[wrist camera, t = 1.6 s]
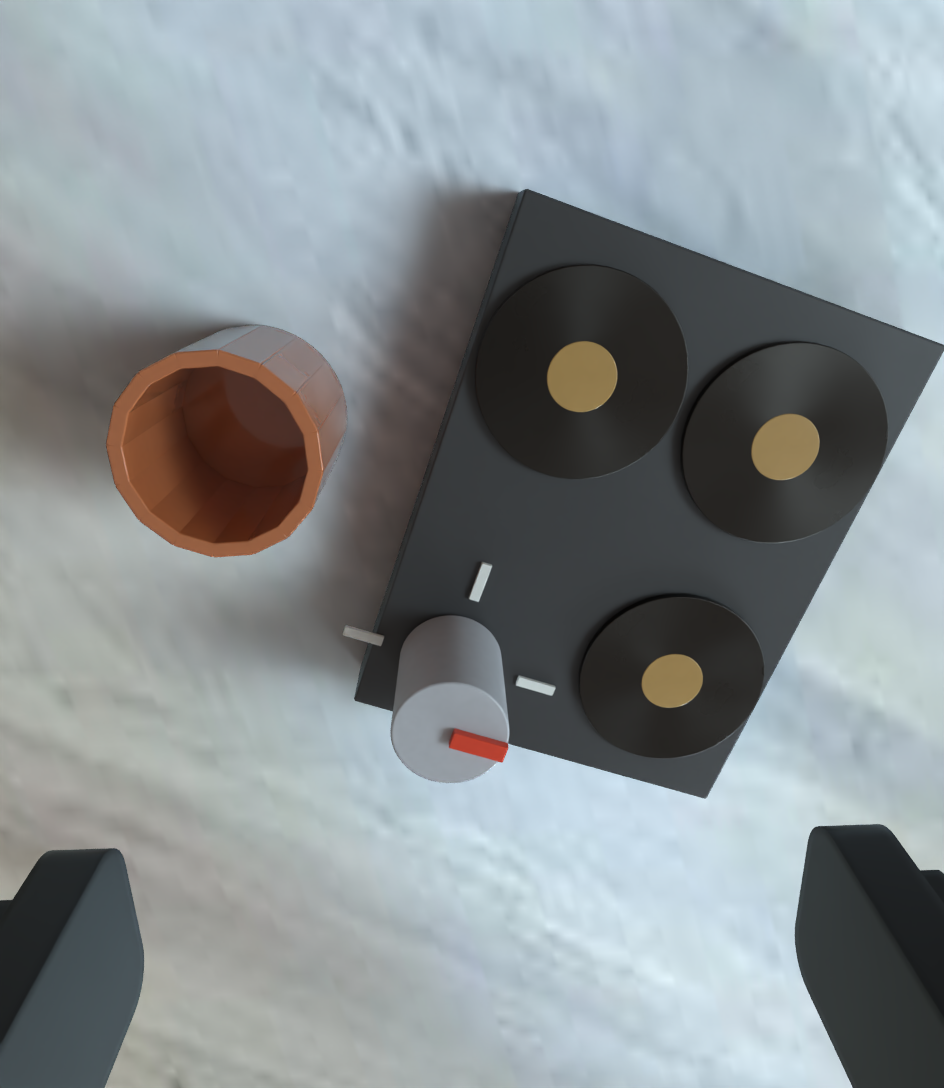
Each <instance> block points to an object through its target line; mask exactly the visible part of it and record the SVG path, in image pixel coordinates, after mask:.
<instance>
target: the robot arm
mask: <svg viewBox="0 0 944 1088" xmlns="http://www.w3.org/2000/svg"><path fill="white" fill-rule="evenodd" d="M795 945H796V953H797V959H798V963H799V967H800V971H801V975H802V977H803V980H804V983H805V985H806V988H807V990H808V992H809V994H810V997H811V999H812V1001H813V1003H814V1005H815V1007H816V1009H817V1012H818V1014H819V1016H820V1018H821V1020H822V1022H823V1024H824V1027H825V1029H826V1031H827V1033H828V1035H829V1037H830V1040H831V1042H832V1044H833V1046H834V1048H835V1050H836V1052H837V1055H838V1057H839V1059H840V1061H841V1063H842V1065H843V1067H844V1070H845V1072H846V1074H847V1076H848V1078H849V1080H850V1082H851V1085H852V1087H853V1088H944V873H942V872H941V871H940V870H922V871H920V870H919V869H918V867H917V866H916V864H915V863H914V862H913V860H912V859H911V858H910V856H909V855H908V853H907V852H906V851H905V849H904V848H903V846H902V845H901V844H900V842H899V841H898V840H897V838H896V837H895V835H894V834H893V833H892V832H891V831H890V830H889V829H888V828H887V827H885V826H883V825H880V824H872V825H843V826H818V827H815V828H814V829H813V830H812V831H811V833H810V836H809V839H808V845H807V851H806V858H805V864H804V871H803V877H802V884H801V890H800V897H799V904H798V910H797V917H796V923H795ZM143 973H144V950H143V944H142V939H141V934H140V930H139V925H138V920H137V916H136V911H135V906H134V902H133V897H132V892H131V888H130V883H129V878H128V874H127V869H126V864H125V861H124V858H123V855H122V854H121V852H120V851H119V850H118V849H115V848H109V849H80V850H52V851H48V852H46V853H45V854H43V855H42V856H41V857H40V859H39V860H38V861H37V863H36V864H35V866H34V867H33V869H32V870H31V872H30V874H29V875H28V877H27V878H26V880H25V881H24V883H23V884H22V886H21V888H20V889H19V891H18V892H17V894H16V895H15V897H14V898H13V900H1V901H0V1088H105V1085H106V1083H107V1080H108V1078H109V1075H110V1073H111V1070H112V1068H113V1065H114V1063H115V1060H116V1058H117V1055H118V1052H119V1050H120V1047H121V1045H122V1042H123V1040H124V1037H125V1035H126V1032H127V1030H128V1027H129V1025H130V1022H131V1020H132V1017H133V1015H134V1012H135V1010H136V1007H137V1004H138V1000H139V997H140V992H141V988H142V982H143Z"/></svg>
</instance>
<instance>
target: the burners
mask: <svg viewBox="0 0 944 1088" xmlns="http://www.w3.org/2000/svg"><path fill="white" fill-rule="evenodd" d="M688 370H689V368H688V352H687V347H686V341H685V338H684V335H683V332H682V328H681V326H680V324H679V322H678V320H677V318H676V316H675V314H674V313H673V311H672V310H671V308H670V307H669V305H668V304H667V302H666V301H665V300H664V299H663V298H662V297H661V296H660V295H659V293H657V292H656V291H655V290H654V289H653V288H652V287H650V286H649V285H648V284H647V283H645V282H643V281H642V280H640V279H639V278H637V277H635V276H633V275H631V274H629V273H627V272H624V271H622V270H618V269H615V268H611V267H608V266H601V265H594V264H579V265H571V266H564V267H561V268H557V269H554V270H550V271H548V272H546V273H543V274H541V275H539V276H536V277H535V278H533V279H531V280H530V281H528V282H526V283H525V284H523V285H522V286H521V287H520V288H518V289H517V290H516V291H514V292H513V293H512V294H511V295H510V296H509V297H508V298H507V299H506V300H505V301H504V302H503V303H502V305H501V306H500V307H499V309H498V310H497V311H496V313H495V314H494V315H493V317H492V319H491V321H490V322H489V324H488V326H487V328H486V330H485V332H484V335H483V337H482V340H481V343H480V346H479V350H478V354H477V360H476V368H475V384H476V392H477V399H478V403H479V406H480V410H481V413H482V415H483V418H484V420H485V423H486V425H487V426H488V428H489V430H490V432H491V433H492V435H493V436H494V438H495V439H496V440H497V442H498V443H499V444H500V445H501V446H502V447H503V448H504V449H505V450H506V451H507V452H508V453H509V454H510V455H511V456H512V457H513V458H515V459H516V460H517V461H519V462H520V463H522V464H523V465H525V466H527V467H529V468H530V469H532V470H535V471H537V472H540V473H542V474H545V475H549V476H553V477H557V478H564V479H589V478H597V477H601V476H605V475H609V474H612V473H614V472H617V471H619V470H622V469H624V468H626V467H628V466H629V465H631V464H633V463H635V462H636V461H638V460H639V459H641V458H642V457H643V456H645V455H646V454H647V453H648V452H649V451H650V450H652V449H653V448H654V447H655V446H656V445H657V444H658V443H659V441H660V440H661V439H662V438H663V437H664V436H665V434H666V433H667V431H668V430H669V428H670V427H671V426H672V424H673V422H674V420H675V418H676V416H677V414H678V412H679V410H680V408H681V405H682V402H683V399H684V396H685V392H686V387H687V381H688ZM888 430H889V426H888V414H887V410H886V406H885V401H884V399H883V396H882V394H881V391H880V389H879V387H878V386H877V384H876V382H875V381H874V379H873V378H872V376H871V375H870V374H869V373H868V372H867V370H866V369H865V368H864V367H863V366H862V365H860V364H859V363H858V362H857V361H856V360H855V359H853V358H851V357H850V356H848V355H847V354H845V353H843V352H841V351H839V350H837V349H834V348H832V347H829V346H825V345H822V344H818V343H812V342H805V341H788V342H781V343H775V344H771V345H767V346H763V347H760V348H758V349H755V350H753V351H750V352H748V353H746V354H745V355H743V356H741V357H739V358H737V359H736V360H734V361H733V362H731V363H730V364H729V365H727V366H726V367H724V368H723V369H722V370H721V371H720V372H719V373H718V374H717V375H716V376H714V377H713V378H712V380H711V381H710V382H709V383H708V384H707V385H706V386H705V388H704V389H703V390H702V392H701V393H700V395H699V396H698V398H697V399H696V401H695V403H694V405H693V407H692V409H691V411H690V412H689V415H688V418H687V420H686V423H685V426H684V430H683V435H682V439H681V450H680V458H681V469H682V474H683V479H684V482H685V485H686V488H687V490H688V492H689V494H690V496H691V498H692V500H693V501H694V503H695V504H696V506H697V507H698V509H699V510H700V511H701V512H702V513H703V514H704V515H705V516H706V517H707V519H708V520H709V521H711V522H712V523H713V524H714V525H716V526H717V527H718V528H720V529H722V530H723V531H725V532H727V533H728V534H731V535H733V536H735V537H738V538H740V539H744V540H748V541H752V542H760V543H783V542H791V541H795V540H799V539H803V538H806V537H809V536H811V535H814V534H817V533H819V532H821V531H823V530H825V529H827V528H828V527H830V526H832V525H833V524H835V523H836V522H838V521H839V520H841V519H842V518H843V517H844V516H845V515H847V514H848V513H849V512H850V511H851V510H852V509H853V508H854V507H855V506H856V505H857V504H858V503H859V502H860V501H861V500H862V498H863V497H864V496H865V495H866V493H867V492H868V491H869V489H870V488H871V486H872V484H873V483H874V481H875V479H876V477H877V475H878V473H879V471H880V469H881V466H882V463H883V460H884V457H885V454H886V449H887V443H888ZM763 682H764V658H763V653H762V650H761V646H760V643H759V641H758V639H757V638H756V636H755V634H754V632H753V631H752V630H751V628H750V627H749V625H748V624H747V623H746V622H745V621H744V619H743V618H742V617H741V616H740V615H739V614H737V613H736V612H735V611H733V610H732V609H731V608H729V607H727V606H726V605H724V604H722V603H720V602H718V601H715V600H713V599H710V598H707V597H703V596H699V595H692V594H666V595H659V596H655V597H651V598H647V599H644V600H642V601H639V602H636V603H634V604H632V605H630V606H628V607H626V608H624V609H623V610H622V611H620V612H619V613H617V614H616V615H614V616H613V617H612V618H611V619H609V620H608V621H607V622H606V623H605V624H604V625H603V626H602V627H601V628H600V629H599V630H598V632H597V633H596V634H595V636H594V637H593V639H592V640H591V641H590V643H589V645H588V647H587V649H586V651H585V653H584V656H583V659H582V662H581V666H580V671H579V694H580V698H581V702H582V706H583V709H584V711H585V713H586V716H587V718H588V719H589V721H590V722H591V724H592V726H593V727H594V728H595V729H596V730H597V732H598V733H599V734H600V735H601V736H602V737H604V738H605V739H606V740H607V741H608V742H610V743H611V744H613V745H614V746H616V747H618V748H620V749H622V750H624V751H626V752H629V753H631V754H634V755H638V756H642V757H647V758H656V759H671V758H680V757H685V756H689V755H693V754H696V753H699V752H702V751H705V750H707V749H709V748H711V747H713V746H715V745H717V744H719V743H720V742H722V741H723V740H725V739H726V738H728V737H729V736H730V735H731V734H733V733H734V732H735V731H736V730H737V729H738V728H739V727H740V726H741V725H742V724H743V723H744V722H745V720H746V719H747V718H748V717H749V715H750V714H751V712H752V711H753V709H754V707H755V706H756V703H757V701H758V699H759V697H760V694H761V690H762V687H763Z"/></svg>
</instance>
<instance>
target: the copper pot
mask: <svg viewBox="0 0 944 1088" xmlns="http://www.w3.org/2000/svg"><path fill="white" fill-rule="evenodd" d="M346 428H347V406H346V401H345V396H344V393H343V390H342V387H341V384H340V382H339V380H338V378H337V376H336V374H335V372H334V371H333V369H332V367H331V366H330V364H329V363H328V362H327V361H326V360H325V358H324V357H323V356H322V355H321V354H320V353H319V352H318V351H317V350H316V349H315V348H314V347H312V346H311V345H310V344H308V343H307V342H306V341H304V340H303V339H301V338H299V337H297V336H296V335H294V334H291V333H289V332H286V331H284V330H281V329H277V328H274V327H269V326H261V325H245V326H238V327H233V328H227V329H223V330H221V331H219V332H217V333H215V334H213V335H210V336H208V337H206V338H204V339H202V340H200V341H198V342H195V343H193V344H191V345H189V346H187V347H185V348H182V349H180V350H178V351H176V352H174V353H172V354H170V355H168V356H166V357H164V358H162V359H161V360H159V361H157V362H155V363H153V364H151V365H149V366H147V367H146V368H144V369H142V370H140V371H139V372H138V373H136V374H135V376H134V377H133V379H132V380H131V381H130V383H129V384H128V385H127V387H126V388H125V389H124V391H123V392H122V393H121V395H120V396H119V398H118V399H117V400H116V402H115V403H114V406H113V409H112V414H111V420H110V425H109V430H108V435H107V440H106V444H107V445H106V448H107V453H108V457H109V461H110V466H111V470H112V475H113V479H114V484H115V485H116V488H117V489H118V491H119V492H120V494H121V495H122V497H123V498H124V500H125V501H126V503H127V504H128V506H129V507H130V508H131V510H132V511H133V513H134V514H135V516H136V517H137V519H138V520H140V522H141V523H143V524H144V525H146V526H147V527H148V528H150V529H151V530H152V531H154V532H155V533H157V534H158V535H159V536H161V537H162V538H163V539H165V540H166V541H168V542H169V543H170V544H172V545H174V546H177V547H180V548H183V549H187V550H190V551H193V552H197V553H200V554H204V555H207V556H210V557H225V556H240V555H252V554H256V553H258V552H260V551H262V550H264V549H266V548H268V547H270V546H272V545H274V544H276V543H278V542H281V541H283V540H285V539H287V538H288V537H289V536H290V535H291V534H292V533H293V532H294V531H295V529H296V528H297V527H298V526H299V525H300V524H301V522H302V521H303V520H304V519H305V518H306V516H307V515H308V514H309V513H310V512H311V511H312V509H313V507H314V505H315V503H316V501H317V499H318V497H319V495H320V493H321V491H322V489H323V487H324V485H325V483H326V481H327V479H328V477H329V475H330V473H331V471H332V469H333V467H334V465H335V463H336V461H337V459H338V456H339V453H340V449H341V447H342V444H343V441H344V438H345V433H346Z"/></svg>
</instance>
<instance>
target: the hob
mask: <svg viewBox="0 0 944 1088" xmlns="http://www.w3.org/2000/svg"><path fill="white" fill-rule="evenodd" d="M579 264H594V265H601V266H608V267H611V268H615V269H618V270H622V271H624V272H627V273H629V274H631V275H633V276H635V277H637V278H639V279H640V280H642V281H643V282H645V283H647V284H648V285H649V286H650V287H652V288H653V289H654V290H655V291H656V292H657V293H659V295H660V296H661V297H662V298H663V299H664V300H665V301H666V302H667V304H668V305H669V307H670V308H671V310H672V311H673V313H674V314H675V316H676V318H677V320H678V322H679V324H680V326H681V328H682V332H683V335H684V338H685V341H686V347H687V352H688V368H689V370H688V381H687V387H686V392H685V396H684V399H683V402H682V405H681V408H680V410H679V412H678V414H677V416H676V418H675V420H674V422H673V424H672V426H671V427H670V428H669V430H668V431H667V433H666V434H665V436H664V437H663V438H662V439H661V440H660V441H659V443H658V444H657V445H656V446H655V447H654V448H653V449H652V450H650V451H649V452H648V453H647V454H646V455H645V456H643V457H642V458H641V459H639V460H638V461H636V462H635V463H633V464H631V465H629V466H628V467H626V468H624V469H622V470H619V471H617V472H614V473H612V474H609V475H605V476H601V477H597V478H589V479H564V478H557V477H553V476H549V475H545V474H542V473H540V472H537V471H535V470H532V469H530V468H529V467H527V466H525V465H523V464H522V463H520V462H519V461H517V460H516V459H515V458H513V457H512V456H511V455H510V454H509V453H508V452H507V451H506V450H505V449H504V448H503V447H502V446H501V445H500V444H499V443H498V442H497V440H496V439H495V438H494V436H493V435H492V433H491V432H490V430H489V428H488V426H487V425H486V423H485V420H484V418H483V415H482V413H481V410H480V406H479V403H478V399H477V392H476V384H475V368H476V360H477V354H478V350H479V346H480V343H481V340H482V337H483V335H484V332H485V330H486V328H487V326H488V324H489V322H490V321H491V319H492V317H493V315H494V314H495V313H496V311H497V310H498V309H499V307H500V306H501V305H502V303H503V302H504V301H505V300H506V299H507V298H508V297H509V296H510V295H511V294H512V293H513V292H514V291H516V290H517V289H518V288H520V287H521V286H522V285H523V284H525V283H526V282H528V281H530V280H531V279H533V278H535V277H536V276H539V275H541V274H543V273H546V272H548V271H550V270H554V269H557V268H561V267H564V266H571V265H579ZM788 341H805V342H812V343H818V344H822V345H825V346H829V347H832V348H834V349H837V350H839V351H841V352H843V353H845V354H847V355H848V356H850V357H851V358H853V359H855V360H856V361H857V362H858V363H859V364H860V365H862V366H863V367H864V368H865V369H866V370H867V372H868V373H869V374H870V375H871V376H872V378H873V379H874V381H875V382H876V384H877V386H878V387H879V389H880V391H881V394H882V396H883V399H884V401H885V406H886V410H887V414H888V426H889V430H888V443H887V449H886V454H885V457H884V460H883V463H882V466H883V464H884V462H885V461H886V459H887V457H888V455H889V453H890V451H891V449H892V447H893V445H894V444H895V442H896V440H897V438H898V436H899V434H900V432H901V430H902V429H903V427H904V425H905V423H906V421H907V419H908V417H909V415H910V413H911V412H912V410H913V408H914V406H915V404H916V402H917V400H918V398H919V396H920V395H921V393H922V391H923V389H924V387H925V385H926V383H927V381H928V379H929V378H930V376H931V374H932V372H933V370H934V368H935V366H936V364H937V363H938V361H939V359H940V357H941V355H942V353H943V351H944V345H943V344H940V343H937V342H935V341H932V340H929V339H927V338H924V337H921V336H919V335H916V334H913V333H911V332H908V331H905V330H903V329H900V328H897V327H895V326H892V325H889V324H887V323H884V322H881V321H879V320H876V319H873V318H871V317H868V316H865V315H863V314H860V313H857V312H854V311H852V310H849V309H846V308H844V307H841V306H838V305H836V304H833V303H830V302H828V301H825V300H822V299H820V298H817V297H814V296H812V295H809V294H806V293H804V292H801V291H798V290H796V289H793V288H790V287H788V286H785V285H782V284H780V283H777V282H774V281H772V280H769V279H766V278H764V277H761V276H758V275H756V274H753V273H750V272H748V271H745V270H742V269H740V268H737V267H734V266H732V265H729V264H726V263H724V262H721V261H718V260H716V259H713V258H710V257H708V256H705V255H702V254H700V253H697V252H694V251H692V250H689V249H686V248H684V247H681V246H678V245H676V244H673V243H670V242H668V241H665V240H662V239H660V238H657V237H654V236H652V235H649V234H646V233H644V232H641V231H638V230H636V229H633V228H630V227H628V226H625V225H622V224H620V223H617V222H614V221H611V220H609V219H606V218H603V217H601V216H598V215H595V214H593V213H590V212H587V211H585V210H582V209H579V208H577V207H574V206H571V205H569V204H566V203H563V202H561V201H558V200H555V199H553V198H550V197H547V196H545V195H542V194H539V193H537V192H534V191H531V190H529V189H525V190H523V191H521V192H519V193H518V196H517V199H516V202H515V205H514V208H513V211H512V214H511V217H510V220H509V223H508V226H507V229H506V232H505V235H504V238H503V241H502V244H501V247H500V250H499V253H498V256H497V259H496V262H495V265H494V268H493V271H492V274H491V277H490V280H489V283H488V286H487V289H486V292H485V295H484V298H483V301H482V304H481V307H480V310H479V313H478V316H477V319H476V322H475V325H474V328H473V331H472V334H471V337H470V340H469V343H468V346H467V349H466V352H465V355H464V358H463V361H462V364H461V367H460V370H459V373H458V376H457V379H456V382H455V385H454V388H453V391H452V394H451V397H450V400H449V403H448V406H447V409H446V412H445V415H444V418H443V421H442V424H441V427H440V430H439V433H438V436H437V439H436V442H435V445H434V448H433V451H432V454H431V457H430V460H429V463H428V466H427V469H426V472H425V475H424V478H423V481H422V484H421V487H420V490H419V493H418V496H417V499H416V502H415V505H414V508H413V511H412V514H411V517H410V520H409V523H408V526H407V529H406V532H405V535H404V538H403V542H402V545H401V548H400V551H399V554H398V557H397V560H396V563H395V566H394V569H393V572H392V575H391V578H390V581H389V584H388V587H387V590H386V593H385V596H384V599H383V602H382V605H381V608H380V611H379V614H378V617H377V620H376V623H375V626H374V629H373V632H369V631H366V630H362V629H359V628H356V627H352V626H349V625H345V628H344V631H343V635H344V636H347V637H351V638H354V639H358V640H361V641H364V642H368V643H369V644H368V647H367V650H366V653H365V656H364V659H363V662H362V665H361V669H360V673H359V678H358V683H357V688H356V692H355V697H354V700H355V701H358V702H361V703H365V704H369V705H372V706H376V707H379V708H383V709H386V710H390V711H393V707H394V699H395V691H396V683H397V675H398V667H399V660H400V652H401V649H402V646H403V644H404V641H405V640H406V638H407V637H408V635H409V634H410V633H411V632H412V631H413V630H414V629H415V628H416V627H417V626H419V625H420V624H422V623H424V622H425V621H427V620H430V619H432V618H436V617H440V616H447V615H454V616H462V617H466V618H469V619H472V620H474V621H476V622H478V623H480V624H481V625H483V626H484V627H485V628H486V629H488V630H489V631H490V632H491V634H492V635H493V636H494V638H495V639H496V641H497V643H498V645H499V647H500V651H501V657H502V666H503V675H504V684H505V694H506V703H507V712H508V721H509V740H508V744H512V745H515V746H519V747H522V748H526V749H529V750H533V751H537V752H540V753H544V754H547V755H551V756H554V757H558V758H562V759H565V760H569V761H572V762H576V763H580V764H583V765H587V766H590V767H594V768H597V769H601V770H605V771H608V772H612V773H615V774H619V775H622V776H626V777H630V778H633V779H637V780H640V781H644V782H647V783H651V784H655V785H658V786H662V787H665V788H669V789H672V790H676V791H680V792H683V793H687V794H690V795H694V796H697V797H701V798H707V796H708V794H709V792H710V791H711V789H712V787H713V785H714V783H715V781H716V779H717V777H718V776H719V774H720V772H721V770H722V768H723V766H724V764H725V762H726V760H727V759H728V757H729V755H730V753H731V751H732V749H733V747H734V745H735V743H736V742H737V740H738V738H739V736H740V734H741V732H742V730H743V728H744V726H745V725H746V723H747V721H748V719H749V717H750V715H751V714H750V715H749V717H748V718H747V719H746V720H745V722H744V723H743V724H742V725H741V726H740V727H739V728H738V729H737V730H736V731H735V732H734V733H733V734H731V735H730V736H729V737H728V738H726V739H725V740H723V741H722V742H720V743H719V744H717V745H715V746H713V747H711V748H709V749H707V750H705V751H702V752H699V753H696V754H693V755H689V756H685V757H680V758H671V759H656V758H647V757H642V756H638V755H634V754H631V753H629V752H626V751H624V750H622V749H620V748H618V747H616V746H614V745H613V744H611V743H610V742H608V741H607V740H606V739H605V738H604V737H602V736H601V735H600V734H599V733H598V732H597V730H596V729H595V728H594V727H593V726H592V724H591V722H590V721H589V719H588V718H587V716H586V713H585V711H584V709H583V706H582V702H581V698H580V694H579V671H580V666H581V662H582V659H583V656H584V653H585V651H586V649H587V647H588V645H589V643H590V641H591V640H592V639H593V637H594V636H595V634H596V633H597V632H598V630H599V629H600V628H601V627H602V626H603V625H604V624H605V623H606V622H607V621H608V620H609V619H611V618H612V617H613V616H614V615H616V614H617V613H619V612H620V611H622V610H623V609H624V608H626V607H628V606H630V605H632V604H634V603H636V602H639V601H642V600H644V599H647V598H651V597H655V596H659V595H666V594H692V595H699V596H703V597H707V598H710V599H713V600H715V601H718V602H720V603H722V604H724V605H726V606H727V607H729V608H731V609H732V610H733V611H735V612H736V613H737V614H739V615H740V616H741V617H742V618H743V619H744V621H745V622H746V623H747V624H748V625H749V627H750V628H751V630H752V631H753V632H754V634H755V636H756V638H757V639H758V641H759V643H760V646H761V650H762V653H763V658H764V682H763V687H762V690H761V694H762V693H763V691H764V689H765V687H766V685H767V683H768V681H769V679H770V677H771V676H772V674H773V672H774V670H775V668H776V666H777V664H778V662H779V660H780V659H781V657H782V655H783V653H784V651H785V649H786V647H787V645H788V644H789V642H790V640H791V638H792V636H793V634H794V632H795V630H796V628H797V627H798V625H799V623H800V621H801V619H802V617H803V615H804V613H805V611H806V610H807V608H808V606H809V604H810V602H811V600H812V598H813V596H814V594H815V593H816V591H817V589H818V587H819V585H820V583H821V581H822V579H823V578H824V576H825V574H826V572H827V570H828V568H829V566H830V564H831V562H832V561H833V559H834V557H835V555H836V553H837V551H838V549H839V547H840V545H841V544H842V542H843V540H844V538H845V536H846V534H847V532H848V530H849V528H850V527H851V525H852V523H853V521H854V519H855V517H856V515H857V513H858V512H859V510H860V508H861V506H862V504H863V502H864V500H865V498H866V496H867V495H868V493H869V491H870V489H871V488H870V489H869V491H868V492H867V493H866V495H865V496H864V497H863V498H862V500H861V501H860V502H859V503H858V504H857V505H856V506H855V507H854V508H853V509H852V510H851V511H850V512H849V513H848V514H847V515H845V516H844V517H843V518H842V519H841V520H839V521H838V522H836V523H835V524H833V525H832V526H830V527H828V528H827V529H825V530H823V531H821V532H819V533H817V534H814V535H811V536H809V537H806V538H803V539H799V540H795V541H791V542H783V543H760V542H752V541H748V540H744V539H740V538H738V537H735V536H733V535H731V534H728V533H727V532H725V531H723V530H722V529H720V528H718V527H717V526H716V525H714V524H713V523H712V522H711V521H709V520H708V519H707V517H706V516H705V515H704V514H703V513H702V512H701V511H700V510H699V509H698V507H697V506H696V504H695V503H694V501H693V500H692V498H691V496H690V494H689V492H688V490H687V488H686V485H685V482H684V479H683V474H682V469H681V458H680V450H681V439H682V435H683V430H684V426H685V423H686V420H687V418H688V415H689V412H690V411H691V409H692V407H693V405H694V403H695V401H696V399H697V398H698V396H699V395H700V393H701V392H702V390H703V389H704V388H705V386H706V385H707V384H708V383H709V382H710V381H711V380H712V378H713V377H714V376H716V375H717V374H718V373H719V372H720V371H721V370H722V369H723V368H724V367H726V366H727V365H729V364H730V363H731V362H733V361H734V360H736V359H737V358H739V357H741V356H743V355H745V354H746V353H748V352H750V351H753V350H755V349H758V348H760V347H763V346H767V345H771V344H775V343H781V342H788ZM882 466H881V468H882ZM880 470H881V469H880ZM879 472H880V471H879ZM878 474H879V473H878ZM877 476H878V475H877ZM876 478H877V477H876ZM872 485H873V484H872ZM871 487H872V486H871ZM761 694H760V696H761ZM759 698H760V697H759ZM758 700H759V699H758ZM757 702H758V701H757ZM756 704H757V703H756ZM754 708H755V707H754ZM753 710H754V709H753ZM751 713H752V712H751Z"/></svg>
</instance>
